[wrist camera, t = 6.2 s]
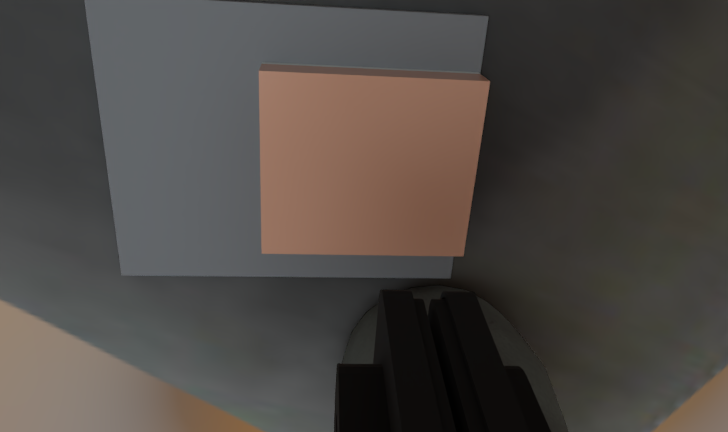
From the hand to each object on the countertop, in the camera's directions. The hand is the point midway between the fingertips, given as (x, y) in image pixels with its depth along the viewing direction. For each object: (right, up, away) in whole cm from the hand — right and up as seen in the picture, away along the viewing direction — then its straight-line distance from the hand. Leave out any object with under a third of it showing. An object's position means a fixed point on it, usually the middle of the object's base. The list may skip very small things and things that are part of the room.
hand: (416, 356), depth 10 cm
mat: (-4, +5, +12) cm, 14 cm away
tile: (-5, +5, +11) cm, 13 cm away
